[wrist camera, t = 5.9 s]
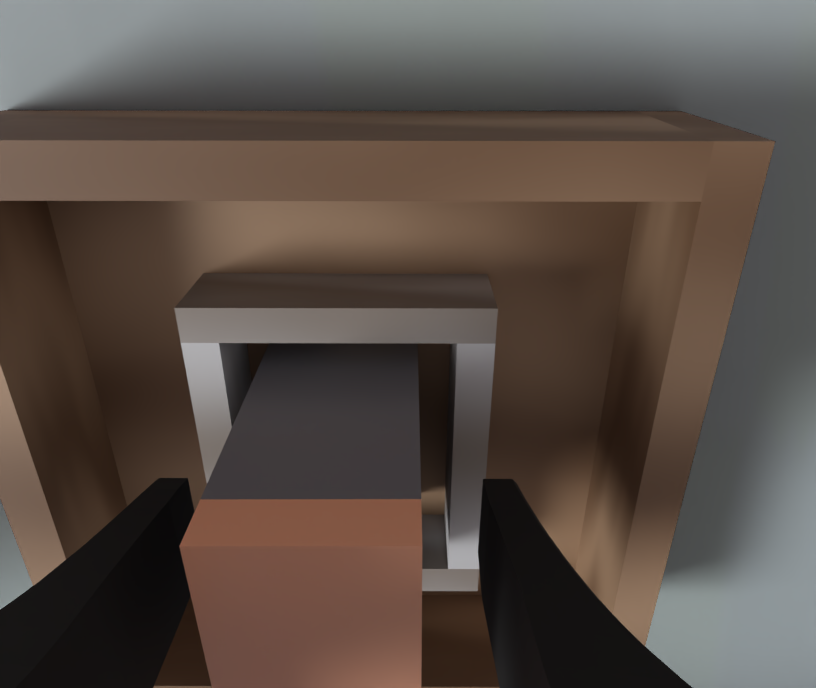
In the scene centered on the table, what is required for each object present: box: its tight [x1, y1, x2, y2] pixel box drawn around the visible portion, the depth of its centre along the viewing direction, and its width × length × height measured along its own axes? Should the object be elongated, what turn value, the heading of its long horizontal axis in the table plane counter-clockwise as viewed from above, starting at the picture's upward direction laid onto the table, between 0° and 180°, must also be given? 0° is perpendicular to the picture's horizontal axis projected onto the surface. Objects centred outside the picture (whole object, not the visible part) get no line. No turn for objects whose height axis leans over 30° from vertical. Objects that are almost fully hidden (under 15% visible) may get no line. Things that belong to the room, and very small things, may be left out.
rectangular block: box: [179, 343, 422, 688], centre depth 13 cm, size 5×4×7 cm
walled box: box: [0, 110, 775, 688], centre depth 15 cm, size 15×15×4 cm
